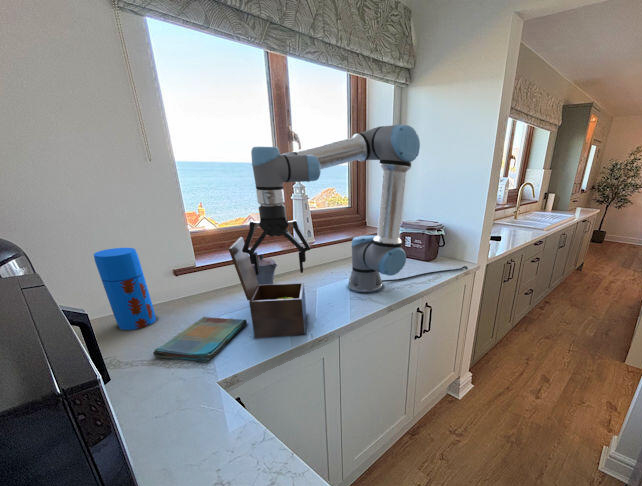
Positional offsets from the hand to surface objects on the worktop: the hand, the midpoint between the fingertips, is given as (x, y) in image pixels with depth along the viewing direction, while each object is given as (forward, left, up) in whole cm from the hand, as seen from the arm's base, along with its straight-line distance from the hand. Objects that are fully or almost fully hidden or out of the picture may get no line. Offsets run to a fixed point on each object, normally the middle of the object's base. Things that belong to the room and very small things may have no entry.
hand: (280, 272), depth 104 cm
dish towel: (+24, +6, -20) cm, 32 cm away
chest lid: (+10, 0, +2) cm, 10 cm away
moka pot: (+10, -20, -20) cm, 30 cm away
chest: (+1, 0, -19) cm, 19 cm away
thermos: (+50, -9, -20) cm, 55 cm away
